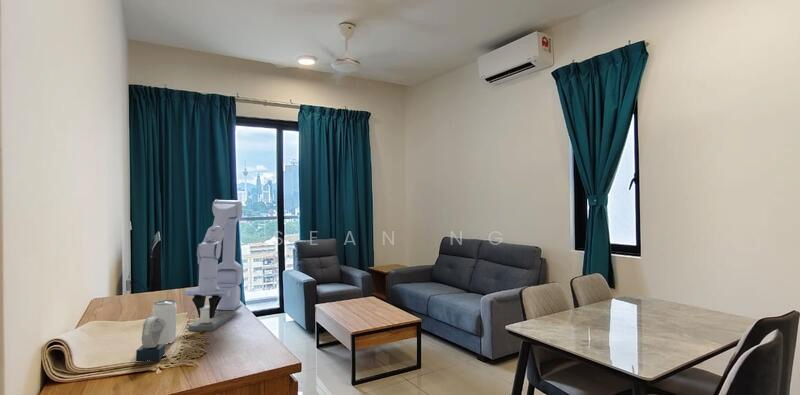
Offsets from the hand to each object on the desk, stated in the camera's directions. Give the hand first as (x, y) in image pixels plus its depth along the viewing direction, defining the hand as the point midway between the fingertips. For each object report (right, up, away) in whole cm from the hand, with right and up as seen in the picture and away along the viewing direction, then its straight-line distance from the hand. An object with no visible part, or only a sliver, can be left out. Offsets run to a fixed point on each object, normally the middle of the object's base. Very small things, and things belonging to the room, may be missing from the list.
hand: (206, 317), depth 139 cm
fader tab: (0, -1, 0) cm, 1 cm away
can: (-5, -3, -16) cm, 17 cm away
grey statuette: (-1, -3, -29) cm, 29 cm away
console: (0, -3, +5) cm, 6 cm away
